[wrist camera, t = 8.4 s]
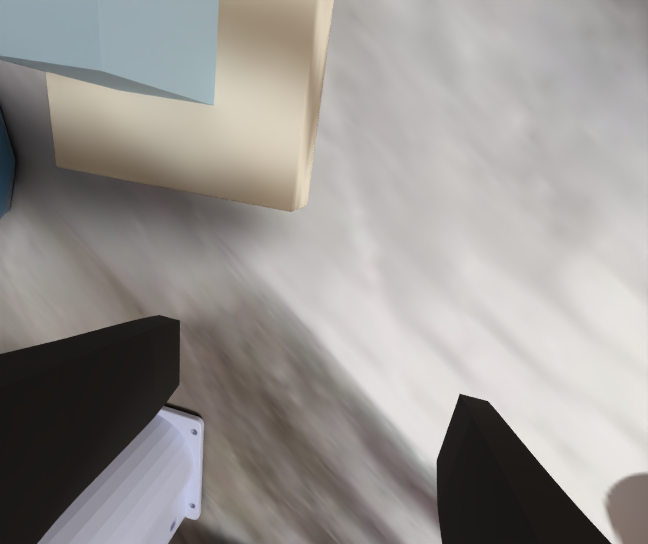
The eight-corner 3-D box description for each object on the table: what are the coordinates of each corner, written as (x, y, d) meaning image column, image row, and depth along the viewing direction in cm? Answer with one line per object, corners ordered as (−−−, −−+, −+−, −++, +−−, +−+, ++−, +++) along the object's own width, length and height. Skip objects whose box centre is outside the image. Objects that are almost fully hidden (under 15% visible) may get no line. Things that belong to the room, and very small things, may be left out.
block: (213, 105, 14) (101, 70, 9) (118, 90, 14) (-38, 49, 9) (220, -30, 12) (88, -170, 7) (113, -40, 13) (-77, -173, 8)
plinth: (306, 205, 17) (291, 211, 14) (99, 166, 19) (56, 166, 16) (348, -113, 13) (336, -175, 10) (78, -120, 15) (17, -174, 12)
